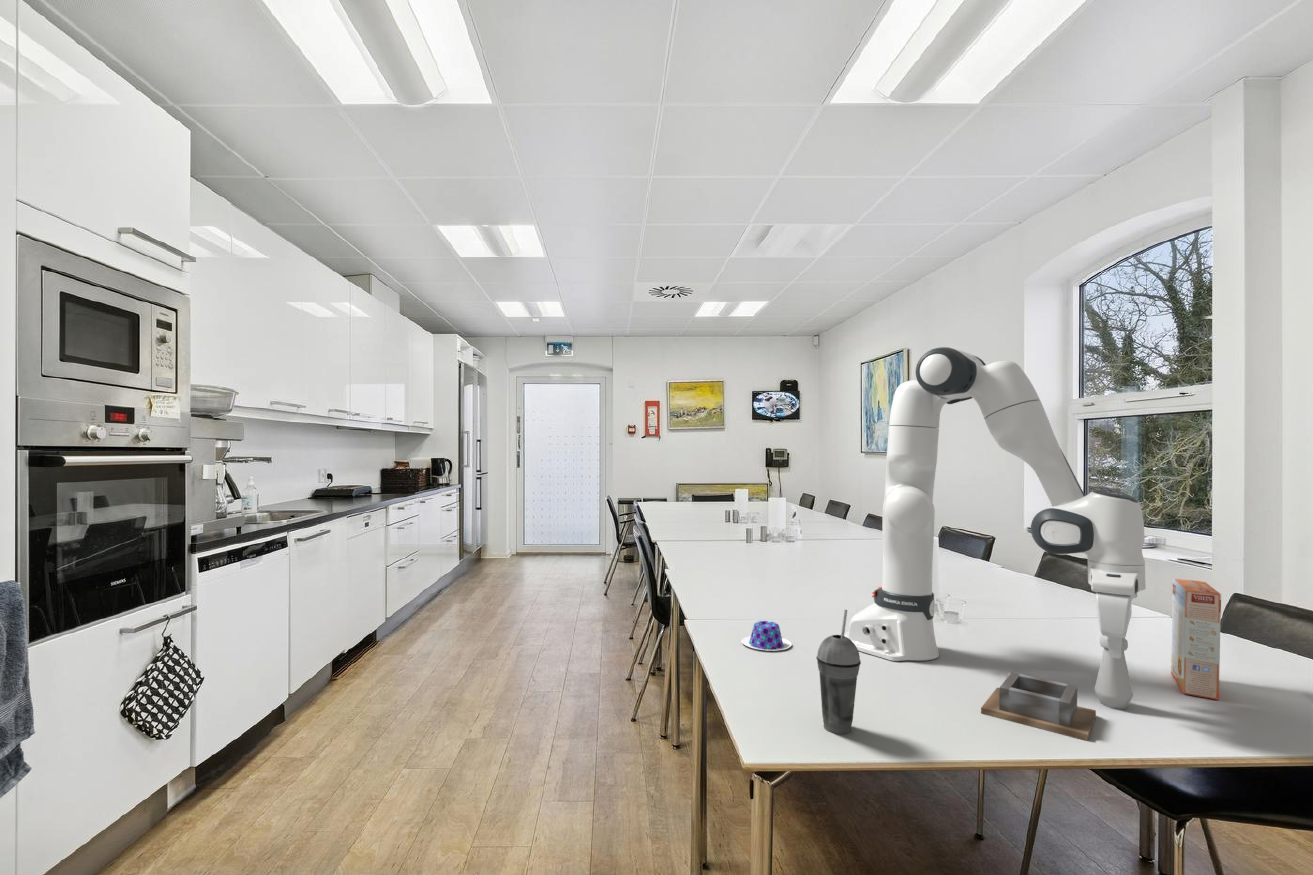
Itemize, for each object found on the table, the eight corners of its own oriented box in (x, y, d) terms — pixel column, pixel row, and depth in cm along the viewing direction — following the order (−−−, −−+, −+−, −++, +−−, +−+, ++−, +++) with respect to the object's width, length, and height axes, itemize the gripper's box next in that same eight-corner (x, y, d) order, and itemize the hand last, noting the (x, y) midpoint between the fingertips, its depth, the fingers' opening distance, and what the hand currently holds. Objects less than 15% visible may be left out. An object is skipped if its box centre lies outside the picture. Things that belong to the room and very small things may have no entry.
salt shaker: (1120, 699, 122) (1120, 632, 122) (1139, 712, 116) (1140, 641, 116) (1087, 697, 122) (1088, 630, 123) (1106, 710, 117) (1106, 639, 117)
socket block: (981, 713, 114) (981, 685, 114) (997, 692, 124) (997, 666, 124) (1087, 740, 104) (1088, 710, 104) (1095, 715, 114) (1096, 688, 114)
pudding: (744, 635, 159) (745, 615, 160) (793, 640, 156) (793, 619, 156) (737, 650, 148) (738, 628, 148) (789, 656, 145) (790, 633, 145)
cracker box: (1221, 701, 122) (1222, 593, 122) (1181, 694, 125) (1182, 588, 125) (1206, 679, 134) (1207, 580, 134) (1170, 673, 137) (1171, 577, 137)
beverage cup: (809, 719, 110) (811, 604, 111) (849, 718, 111) (851, 604, 111) (823, 738, 103) (825, 615, 103) (867, 737, 104) (868, 615, 104)
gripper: (1100, 567, 129) (1101, 635, 129) (1090, 583, 114) (1091, 660, 113) (1139, 570, 125) (1140, 640, 125) (1134, 588, 110) (1135, 668, 109)
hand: (1117, 650), depth 119 cm, fingers open, 8 cm apart
